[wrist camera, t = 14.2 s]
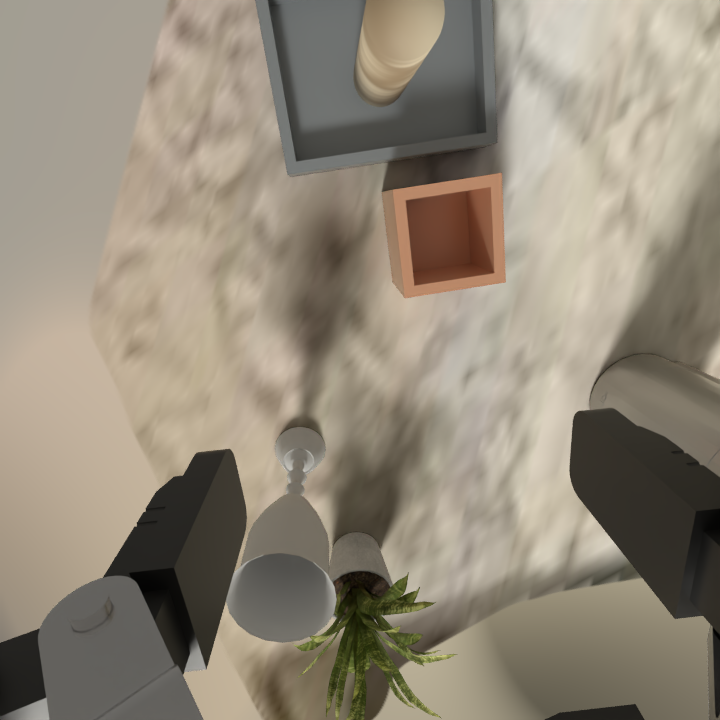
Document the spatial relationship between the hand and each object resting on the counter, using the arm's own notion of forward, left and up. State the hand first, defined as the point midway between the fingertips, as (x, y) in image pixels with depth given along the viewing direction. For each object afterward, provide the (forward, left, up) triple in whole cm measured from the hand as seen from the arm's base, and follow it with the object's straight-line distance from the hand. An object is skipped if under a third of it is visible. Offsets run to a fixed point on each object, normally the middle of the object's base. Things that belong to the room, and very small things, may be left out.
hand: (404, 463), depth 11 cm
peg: (-4, -14, -30) cm, 33 cm away
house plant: (+4, +32, -31) cm, 44 cm away
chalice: (+8, +17, -31) cm, 36 cm away
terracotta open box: (-7, -2, -31) cm, 31 cm away
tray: (-4, -14, -31) cm, 34 cm away
